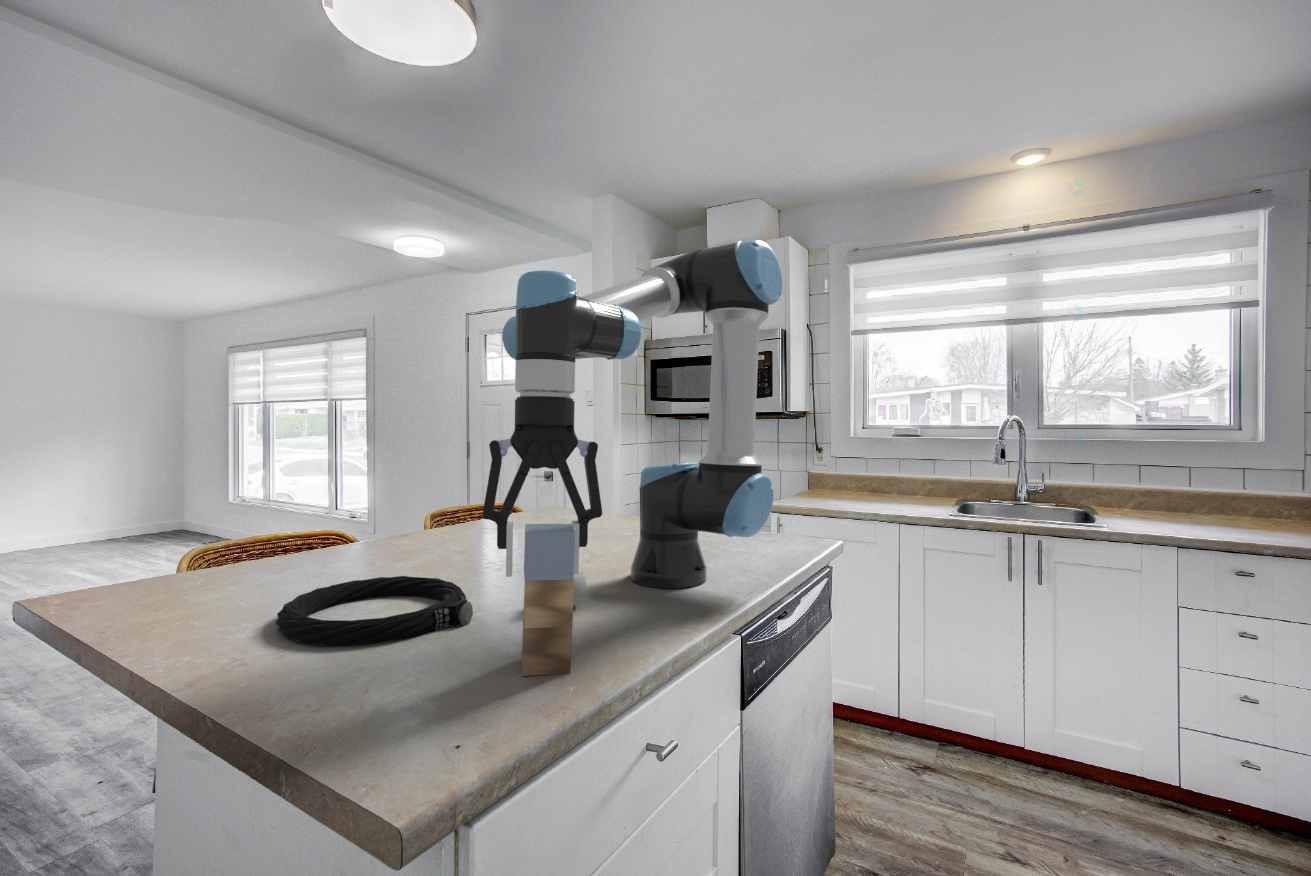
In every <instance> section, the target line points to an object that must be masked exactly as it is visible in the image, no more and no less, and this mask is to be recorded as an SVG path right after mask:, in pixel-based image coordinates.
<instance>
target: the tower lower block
mask: <svg viewBox="0 0 1311 876" xmlns="http://www.w3.org/2000/svg"><path fill="white" fill-rule="evenodd" d="M522 617H523V618H522V620H523V621H522V638H521V639H522V640H521V642H522V643H521V676H522V677H526V676H527V677H529V676H531V677H532V676H549V675H566V674H568V675H569V674H571V670H572V651H573V650H572V647H573V646H572V644H573V626H572V627H545V628H524V612H523V613H522Z"/></svg>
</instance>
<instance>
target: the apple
mask: <svg viewBox="0 0 1311 876" xmlns="http://www.w3.org/2000/svg"><path fill="white" fill-rule="evenodd" d="M573 577H574V601H573V607H574V606H575V605H577V603H579V601H580V600H581V599H582V598H583V596H584V595H585V593H586V589H587V579H586V576H585V574H584V572H583V570H582V569H581V567H579V574H573Z"/></svg>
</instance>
